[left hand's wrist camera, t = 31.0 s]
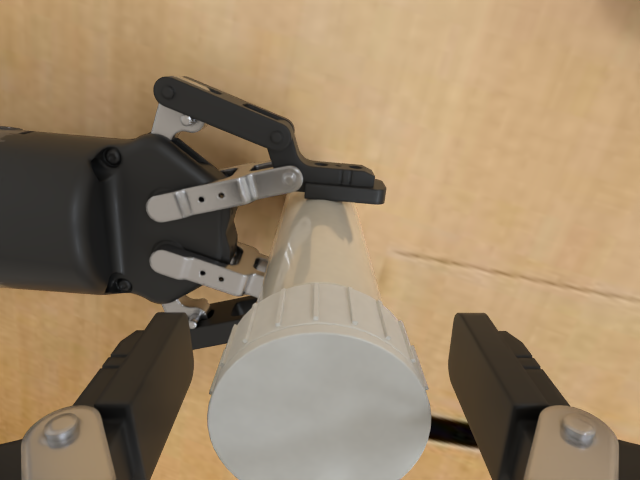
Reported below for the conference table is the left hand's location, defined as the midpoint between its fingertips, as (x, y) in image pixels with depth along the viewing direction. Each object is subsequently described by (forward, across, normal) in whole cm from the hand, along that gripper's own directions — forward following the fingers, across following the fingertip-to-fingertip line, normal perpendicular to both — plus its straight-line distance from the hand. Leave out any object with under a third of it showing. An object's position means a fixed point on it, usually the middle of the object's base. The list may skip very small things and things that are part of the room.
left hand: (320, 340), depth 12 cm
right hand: (+10, -3, +1) cm, 10 cm away
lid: (-2, 0, 0) cm, 2 cm away
